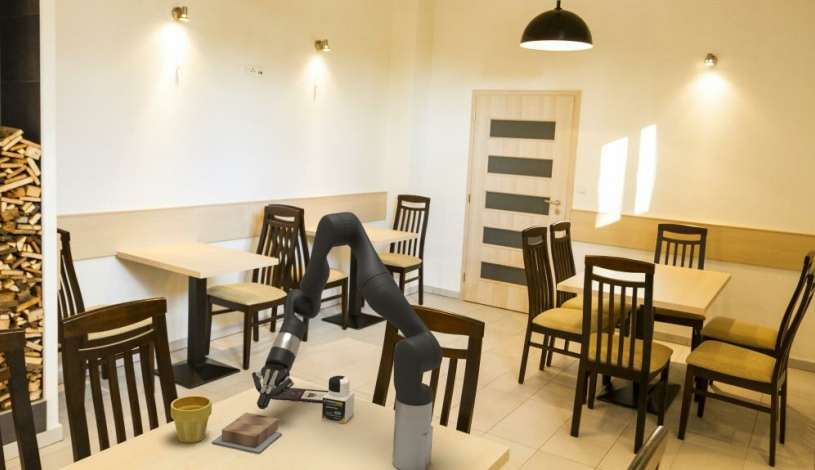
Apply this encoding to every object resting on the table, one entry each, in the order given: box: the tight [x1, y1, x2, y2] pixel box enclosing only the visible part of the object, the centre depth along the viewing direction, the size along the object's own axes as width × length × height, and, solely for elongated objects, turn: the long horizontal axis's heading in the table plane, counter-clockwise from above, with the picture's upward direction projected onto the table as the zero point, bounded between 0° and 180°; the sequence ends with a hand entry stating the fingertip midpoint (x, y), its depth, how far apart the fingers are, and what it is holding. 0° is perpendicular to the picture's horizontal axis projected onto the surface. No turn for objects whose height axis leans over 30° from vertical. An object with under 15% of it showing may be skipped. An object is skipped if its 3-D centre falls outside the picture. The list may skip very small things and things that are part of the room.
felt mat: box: [211, 431, 283, 455], centre depth 179 cm, size 14×12×1 cm
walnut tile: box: [221, 412, 279, 448], centre depth 180 cm, size 10×3×12 cm
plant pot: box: [170, 394, 213, 444], centre depth 178 cm, size 10×10×10 cm
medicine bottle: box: [321, 375, 355, 424], centre depth 195 cm, size 7×7×12 cm
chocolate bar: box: [271, 387, 329, 404], centre depth 210 cm, size 9×1×18 cm
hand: (261, 407), depth 185 cm, fingers closed
